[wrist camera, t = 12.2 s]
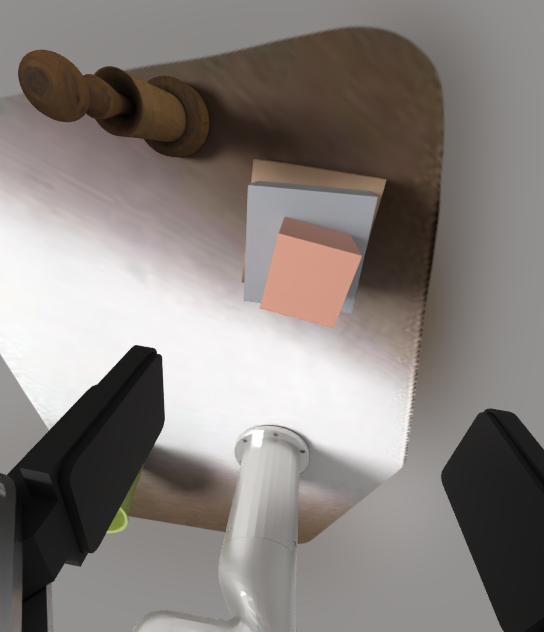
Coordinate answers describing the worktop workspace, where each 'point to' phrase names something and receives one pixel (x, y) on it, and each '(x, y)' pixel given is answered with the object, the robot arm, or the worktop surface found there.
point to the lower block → (315, 180)
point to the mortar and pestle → (118, 102)
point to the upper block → (307, 206)
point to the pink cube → (310, 272)
